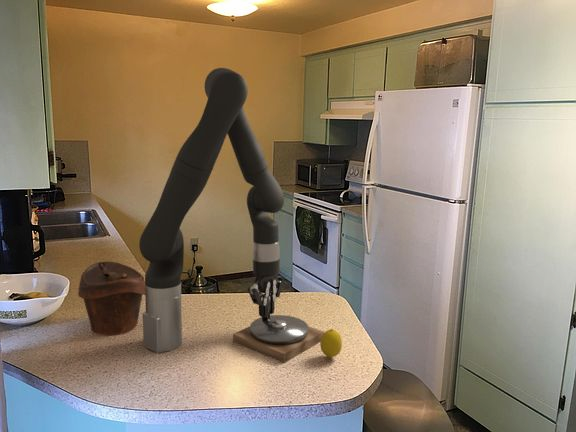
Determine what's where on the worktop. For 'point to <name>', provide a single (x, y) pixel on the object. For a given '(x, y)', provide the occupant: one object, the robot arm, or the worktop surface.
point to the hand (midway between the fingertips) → (266, 314)
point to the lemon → (331, 343)
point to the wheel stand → (278, 350)
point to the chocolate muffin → (112, 297)
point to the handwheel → (278, 328)
